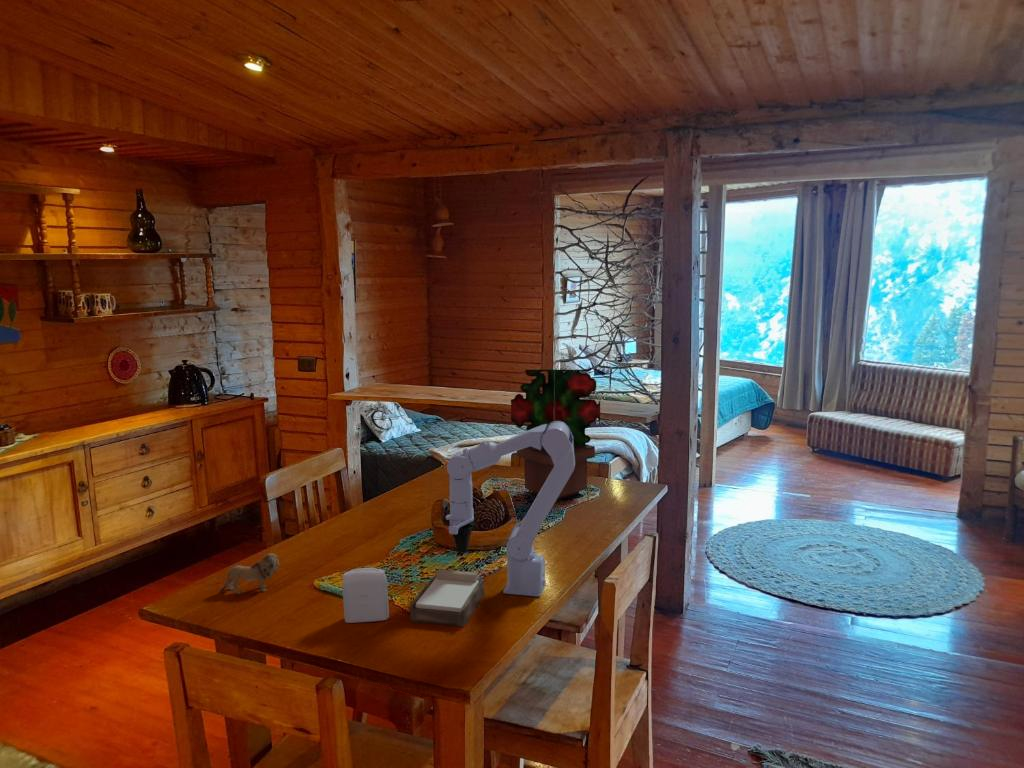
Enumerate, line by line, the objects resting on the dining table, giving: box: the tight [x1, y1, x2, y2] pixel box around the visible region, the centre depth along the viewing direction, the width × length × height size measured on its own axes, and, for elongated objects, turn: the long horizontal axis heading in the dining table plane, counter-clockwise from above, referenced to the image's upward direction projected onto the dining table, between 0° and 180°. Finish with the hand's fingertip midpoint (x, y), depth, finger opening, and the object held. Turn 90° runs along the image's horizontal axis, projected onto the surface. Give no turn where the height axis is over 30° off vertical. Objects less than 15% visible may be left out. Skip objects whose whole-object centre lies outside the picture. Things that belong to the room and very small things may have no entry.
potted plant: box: [510, 367, 601, 502], centre depth 257 cm, size 22×22×45 cm
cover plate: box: [416, 569, 479, 612], centre depth 175 cm, size 15×11×3 cm
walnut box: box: [409, 574, 485, 628], centre depth 175 cm, size 17×13×4 cm
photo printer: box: [341, 567, 390, 624], centre depth 169 cm, size 10×4×12 cm, turn 96°
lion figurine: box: [219, 552, 280, 595], centre depth 186 cm, size 15×5×9 cm, turn 106°
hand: (462, 551), depth 185 cm, fingers closed
